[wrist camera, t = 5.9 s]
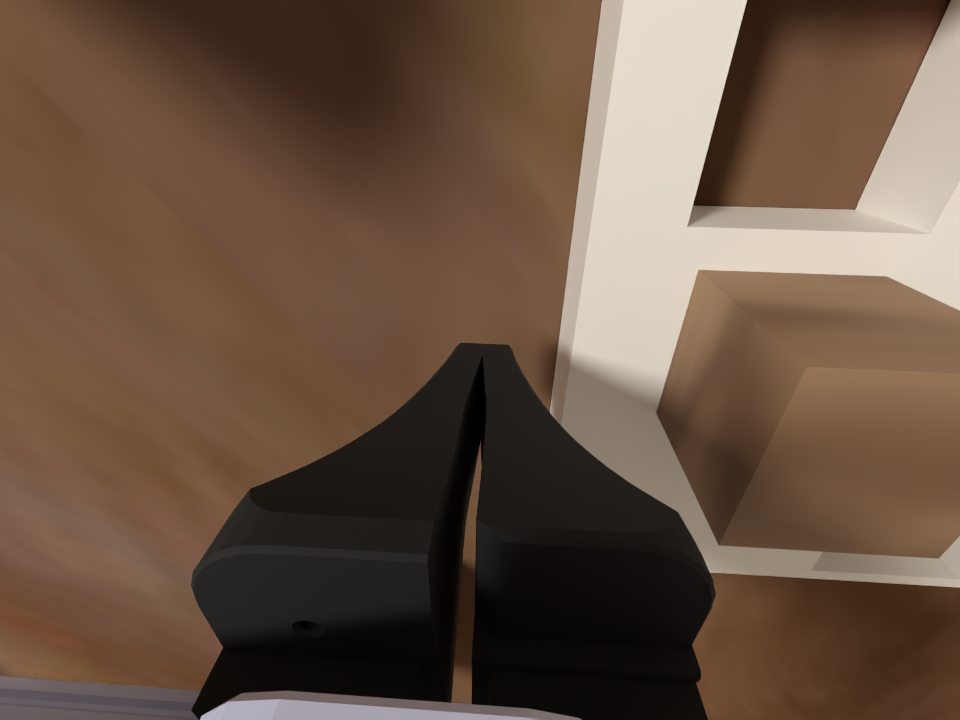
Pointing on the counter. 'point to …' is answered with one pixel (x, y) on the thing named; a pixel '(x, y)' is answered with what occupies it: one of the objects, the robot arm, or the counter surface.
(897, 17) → the counter surface
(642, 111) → the board
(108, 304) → the counter surface
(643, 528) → the robot arm
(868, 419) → the block
